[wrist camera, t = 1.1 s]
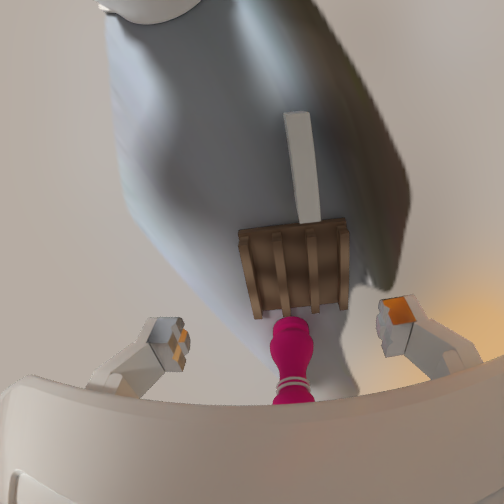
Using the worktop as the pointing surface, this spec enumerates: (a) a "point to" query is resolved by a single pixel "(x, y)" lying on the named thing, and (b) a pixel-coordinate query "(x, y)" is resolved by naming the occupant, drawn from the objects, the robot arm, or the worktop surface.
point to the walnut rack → (296, 265)
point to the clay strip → (303, 165)
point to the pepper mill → (292, 360)
